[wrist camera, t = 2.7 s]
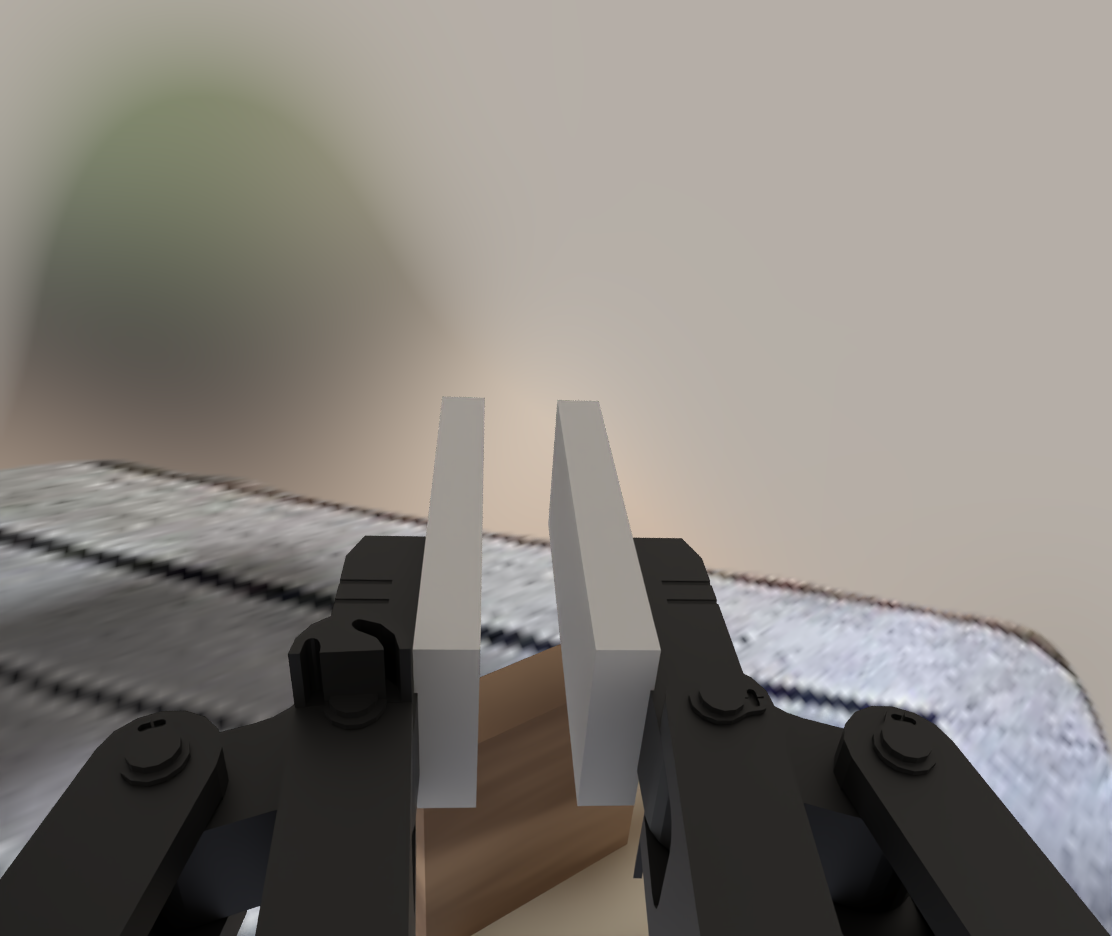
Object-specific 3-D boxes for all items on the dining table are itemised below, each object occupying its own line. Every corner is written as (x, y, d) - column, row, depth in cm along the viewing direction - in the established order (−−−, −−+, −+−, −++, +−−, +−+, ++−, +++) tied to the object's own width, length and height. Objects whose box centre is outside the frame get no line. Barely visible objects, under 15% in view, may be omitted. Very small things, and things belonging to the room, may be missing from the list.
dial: (325, 783, 37) (302, 579, 32) (638, 646, 46) (666, 468, 41) (544, 1217, 25) (574, 1010, 19) (915, 911, 34) (1012, 708, 28)
